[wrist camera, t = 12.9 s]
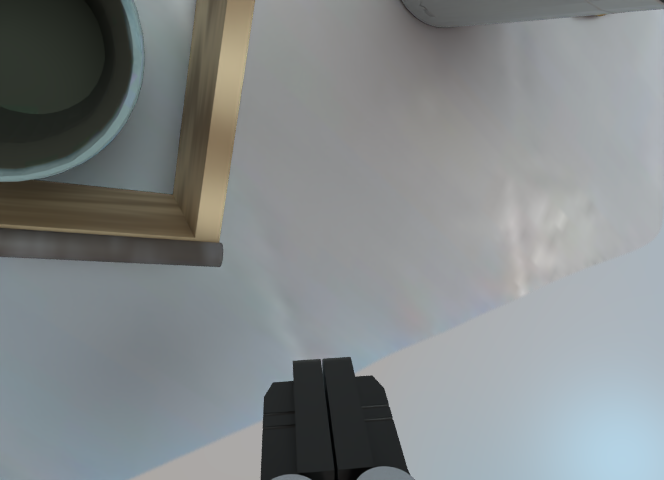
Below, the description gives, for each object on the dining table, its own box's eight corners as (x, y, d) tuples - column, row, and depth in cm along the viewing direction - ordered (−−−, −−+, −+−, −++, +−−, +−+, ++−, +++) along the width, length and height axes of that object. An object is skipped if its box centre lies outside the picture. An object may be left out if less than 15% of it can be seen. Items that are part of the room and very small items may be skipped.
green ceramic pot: (157, 105, 30) (185, 131, 20) (-21, 163, 28) (-94, 227, 17) (78, -86, 26) (63, -179, 16) (-142, -39, 23) (-334, -114, 13)
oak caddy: (-202, -115, 22) (-407, -230, 13) (217, 1, 30) (265, -21, 21) (-183, 180, 25) (-335, 246, 17) (189, 213, 33) (220, 270, 25)
